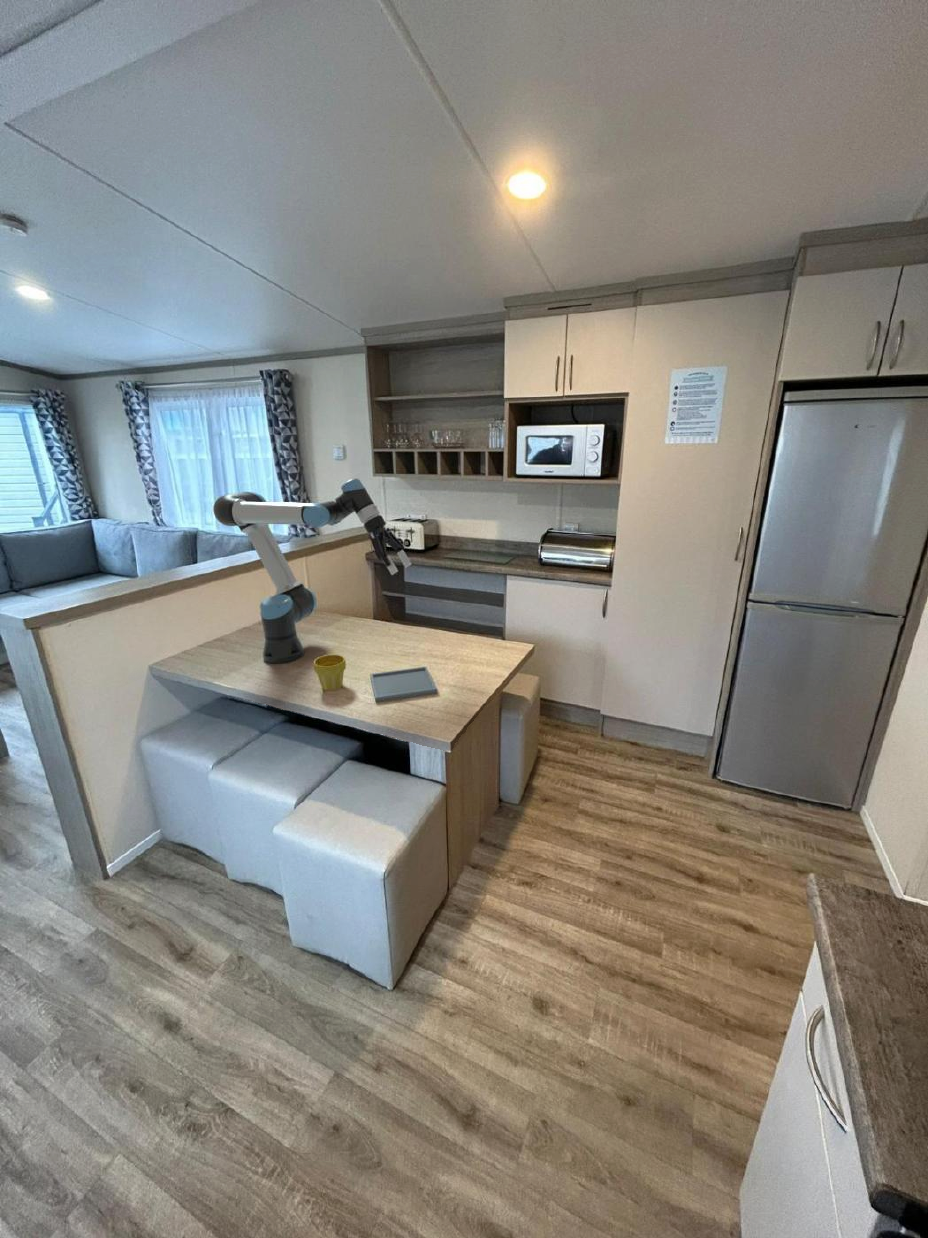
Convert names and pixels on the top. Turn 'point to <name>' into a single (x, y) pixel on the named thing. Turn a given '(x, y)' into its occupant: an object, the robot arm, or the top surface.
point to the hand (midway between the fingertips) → (402, 569)
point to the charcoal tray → (402, 684)
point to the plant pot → (330, 671)
